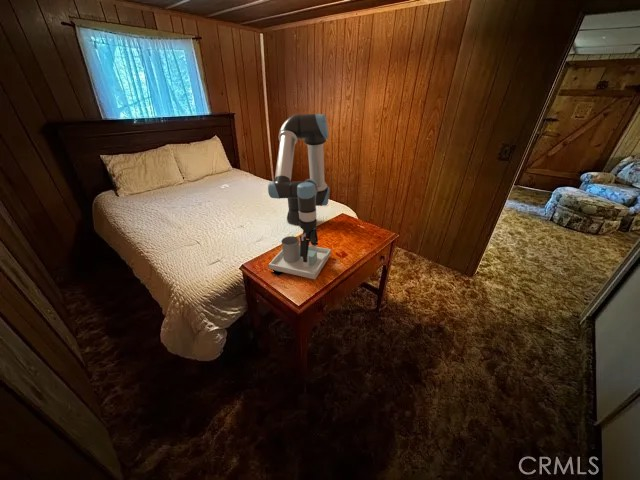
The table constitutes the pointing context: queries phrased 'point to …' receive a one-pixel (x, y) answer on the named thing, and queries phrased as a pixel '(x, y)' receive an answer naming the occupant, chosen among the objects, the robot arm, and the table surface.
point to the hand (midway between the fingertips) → (310, 261)
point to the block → (312, 257)
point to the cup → (291, 249)
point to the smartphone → (278, 272)
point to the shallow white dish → (301, 264)
